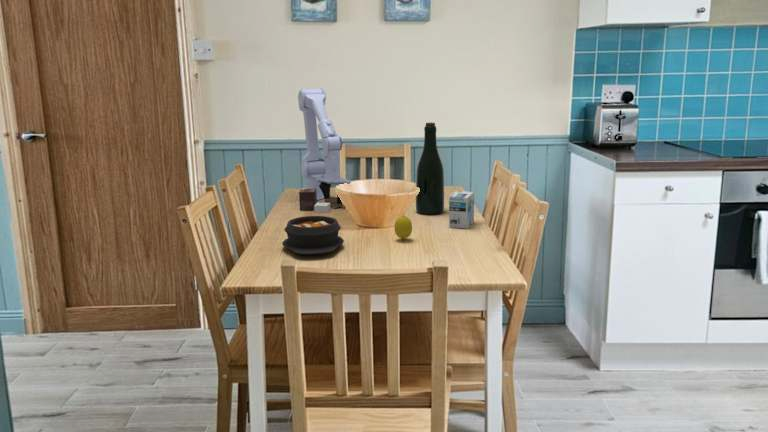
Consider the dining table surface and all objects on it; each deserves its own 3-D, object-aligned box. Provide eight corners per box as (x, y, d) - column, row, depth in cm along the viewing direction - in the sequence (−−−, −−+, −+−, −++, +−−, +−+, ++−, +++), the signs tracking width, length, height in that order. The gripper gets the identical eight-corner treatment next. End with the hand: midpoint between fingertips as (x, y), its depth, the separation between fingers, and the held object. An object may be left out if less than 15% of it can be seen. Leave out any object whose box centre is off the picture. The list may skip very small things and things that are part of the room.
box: (315, 210, 247) (314, 191, 245) (299, 210, 247) (298, 191, 245) (317, 207, 253) (316, 188, 251) (301, 207, 253) (301, 188, 251)
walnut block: (331, 204, 256) (331, 196, 255) (342, 205, 253) (342, 197, 253) (324, 206, 251) (324, 199, 251) (336, 208, 249) (335, 200, 248)
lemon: (407, 236, 209) (407, 212, 207) (414, 241, 204) (414, 216, 202) (391, 238, 207) (391, 214, 206) (398, 243, 202) (398, 218, 201)
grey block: (317, 210, 248) (317, 202, 248) (330, 210, 248) (330, 202, 247) (314, 213, 244) (314, 205, 243) (327, 213, 243) (327, 205, 242)
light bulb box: (468, 229, 218) (468, 197, 215) (448, 227, 220) (448, 196, 217) (474, 221, 228) (474, 191, 225) (455, 220, 230) (455, 190, 227)
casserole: (347, 258, 188) (346, 230, 186) (282, 262, 186) (280, 233, 184) (341, 235, 212) (340, 210, 210) (283, 238, 210) (281, 213, 208)
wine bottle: (409, 211, 243) (409, 122, 235) (430, 207, 249) (430, 120, 241) (429, 216, 235) (429, 124, 227) (450, 212, 241) (451, 122, 234)
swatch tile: (319, 202, 261) (319, 201, 260) (332, 203, 258) (332, 202, 258) (311, 205, 255) (311, 204, 255) (324, 206, 253) (324, 205, 253)
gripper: (310, 167, 249) (312, 202, 252) (343, 170, 242) (344, 206, 245) (321, 165, 255) (322, 199, 258) (353, 167, 248) (353, 202, 251)
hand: (333, 202), depth 252 cm, fingers closed on walnut block, 5 cm apart
